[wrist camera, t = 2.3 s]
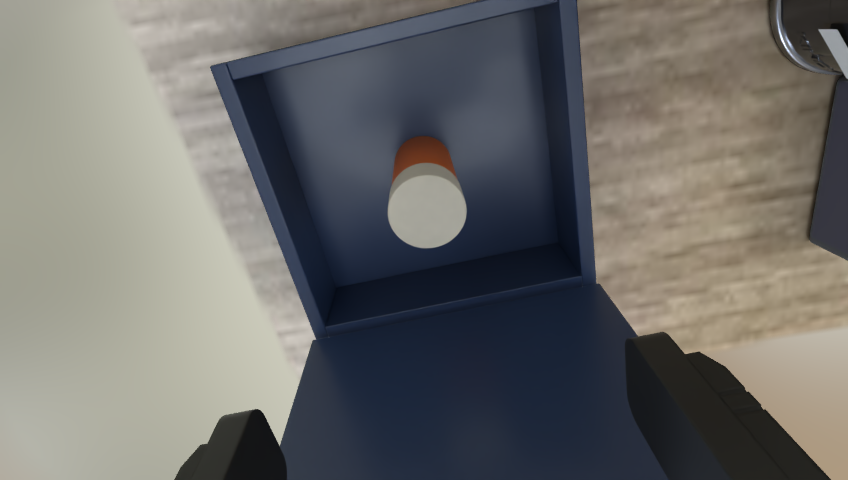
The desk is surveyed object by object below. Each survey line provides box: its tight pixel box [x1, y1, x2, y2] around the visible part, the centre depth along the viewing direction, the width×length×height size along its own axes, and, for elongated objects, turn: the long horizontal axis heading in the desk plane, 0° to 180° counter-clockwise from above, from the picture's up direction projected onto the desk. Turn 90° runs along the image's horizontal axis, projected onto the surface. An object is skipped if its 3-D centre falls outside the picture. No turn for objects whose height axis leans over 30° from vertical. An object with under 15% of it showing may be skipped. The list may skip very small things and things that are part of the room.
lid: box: [280, 284, 669, 480], centre depth 20 cm, size 16×17×5 cm
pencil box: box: [210, 0, 596, 339], centre depth 26 cm, size 16×17×5 cm
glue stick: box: [388, 136, 467, 248], centre depth 24 cm, size 4×4×8 cm
